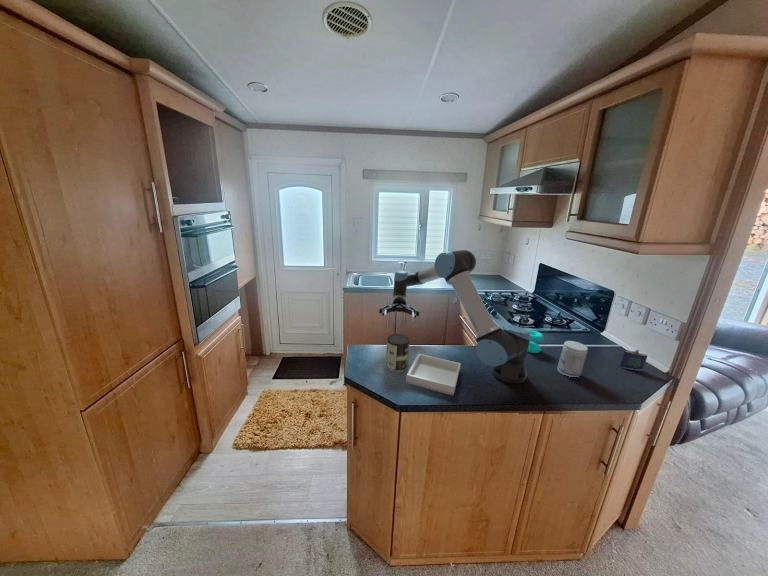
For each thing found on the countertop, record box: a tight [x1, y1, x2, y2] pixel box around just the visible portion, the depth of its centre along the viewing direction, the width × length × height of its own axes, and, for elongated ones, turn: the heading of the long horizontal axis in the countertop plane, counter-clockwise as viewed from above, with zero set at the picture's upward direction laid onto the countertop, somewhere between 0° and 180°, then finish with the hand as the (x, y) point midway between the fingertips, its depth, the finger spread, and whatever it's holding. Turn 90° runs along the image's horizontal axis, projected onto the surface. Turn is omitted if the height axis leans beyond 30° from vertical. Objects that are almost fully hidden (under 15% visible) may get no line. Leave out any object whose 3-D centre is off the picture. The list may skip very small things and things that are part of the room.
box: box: [405, 353, 462, 397], centre depth 129 cm, size 20×20×4 cm
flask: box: [619, 349, 648, 370], centre depth 143 cm, size 9×3×11 cm, turn 68°
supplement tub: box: [557, 340, 589, 378], centre depth 136 cm, size 10×10×15 cm
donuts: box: [526, 329, 545, 354], centre depth 158 cm, size 10×10×10 cm
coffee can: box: [385, 333, 410, 373], centre depth 134 cm, size 10×10×14 cm
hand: (399, 318), depth 140 cm, fingers open, 13 cm apart
